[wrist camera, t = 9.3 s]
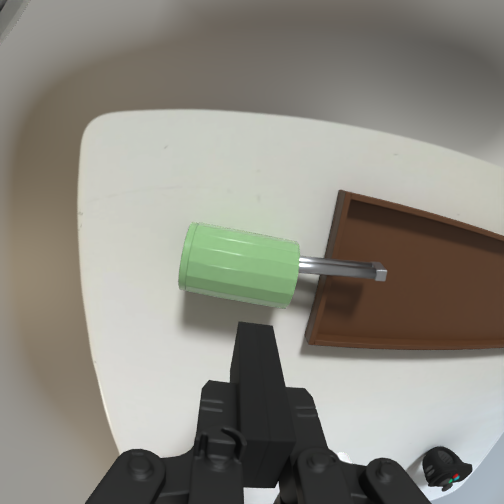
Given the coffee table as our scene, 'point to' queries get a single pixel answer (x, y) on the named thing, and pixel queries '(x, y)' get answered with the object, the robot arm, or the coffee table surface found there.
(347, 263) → the bolted metal rod
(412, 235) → the tray
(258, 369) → the robot arm
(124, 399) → the coffee table surface
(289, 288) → the green cup
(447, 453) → the controller
